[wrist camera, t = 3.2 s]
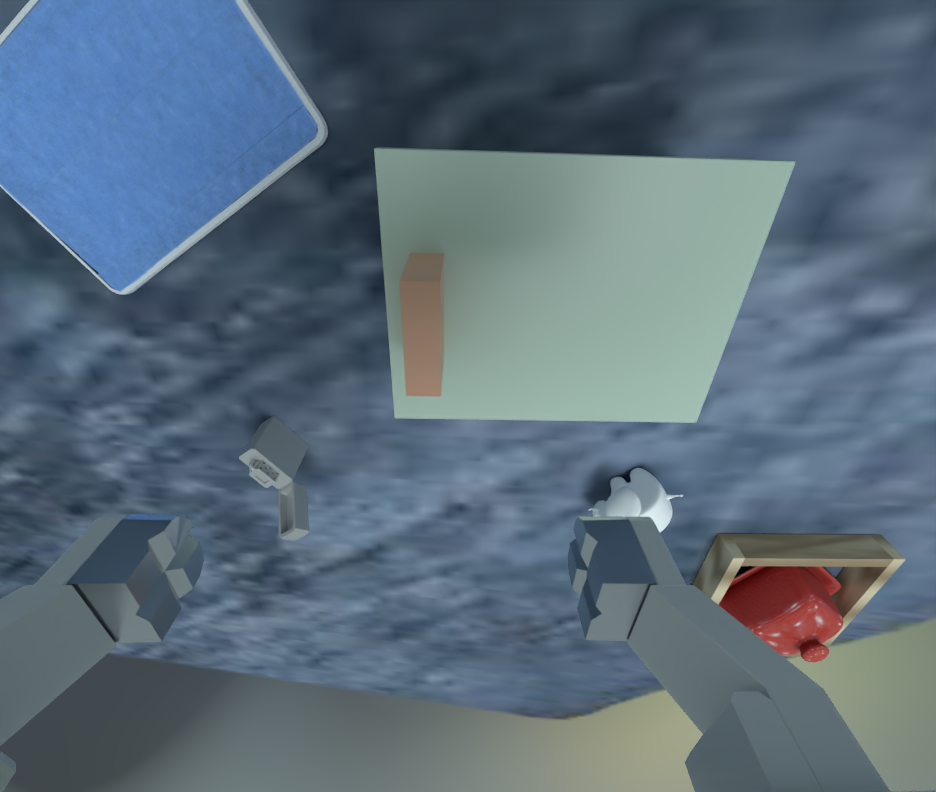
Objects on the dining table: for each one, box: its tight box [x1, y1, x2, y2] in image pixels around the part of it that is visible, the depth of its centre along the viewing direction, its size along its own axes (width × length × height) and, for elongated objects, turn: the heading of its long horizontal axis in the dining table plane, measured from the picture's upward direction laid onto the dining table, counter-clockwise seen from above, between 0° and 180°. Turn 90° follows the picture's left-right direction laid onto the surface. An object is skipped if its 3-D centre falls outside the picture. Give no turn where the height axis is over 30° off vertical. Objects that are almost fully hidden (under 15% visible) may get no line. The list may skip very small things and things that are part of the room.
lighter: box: [239, 416, 309, 541], centre depth 34 cm, size 7×2×8 cm, turn 34°
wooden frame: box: [692, 534, 906, 656], centre depth 49 cm, size 18×17×3 cm
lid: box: [374, 147, 796, 423], centre depth 20 cm, size 13×17×6 cm
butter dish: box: [719, 566, 844, 662], centre depth 46 cm, size 12×12×8 cm
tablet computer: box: [0, 0, 328, 294], centre depth 25 cm, size 19×13×1 cm, turn 121°
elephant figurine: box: [588, 468, 683, 532], centre depth 38 cm, size 7×8×6 cm
